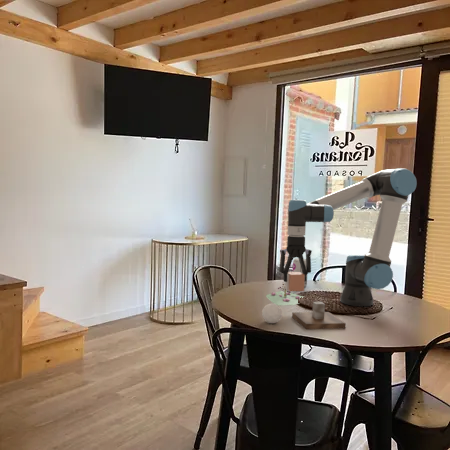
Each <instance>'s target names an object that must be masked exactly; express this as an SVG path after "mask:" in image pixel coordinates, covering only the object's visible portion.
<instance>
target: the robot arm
mask: <svg viewBox="0 0 450 450" xmlns="http://www.w3.org/2000/svg"><path fill="white" fill-rule="evenodd" d="M417 184H418V183H417V178H416V176H415V174H414V173H413V172H412V170H409V169H407V168H401V167H399V168H398V167H397V168H391V169H382V170H380V171H377V172H375V173H373V174H371V175H369V176H366V177H364V178H362V179H361V181H359V182H357V183H355V184H352V185H350V186H347V187H345V188H342V189H340V190H337V191H335V192H332V193H330V194H327V195H324V196H322V197H320V198H317V199H314V200H311V201H310V202H307V200H306V199H291V200H289V202H288V209H287V212H288V213H287V235H288V236H287V238H286V240H287V242H286V243H287V244H286V248H284V249H280V250H279V252H280V262H279V268H278V269H279V273H280V274H283V278H282V279H283V283H284V286H285V289H287V291H289V274H288V272H290V268H291V265H292V263H293V261H294V259H295V258H298V259H299V261H300V265H301V269H302V272H303V274H304V275H305V276H304V281H306V280H307V281H308V274H311V273H312V263H311V262H312V260H311V256H312V251H313V250H311V249H307V248H306V237H305V236H306V227H307V225H306V223H330V222H332V220H333V218H334V216H335V215H334V214H335V213H334V211H335V210H338V209H341V208H342V207H344V206H347V205H350V204H352V203H354V202H357V201H359V200H363V199H366V198H373V197H376V196H379V197H380V199H381V204H380V209H379V212H378V216H377V220H376V223H375V228H374V232H373V235H372V240H371V244H370V247H369V250H368V252H367V253H365V254H364V255H359V254H358V255H352V254H351V255H349V254H348V256H347V257H346V260H345V276H344V277H345V278H344V279H345V280H344V287H343V289H342V291H341V295H340V298H339V299H340V303H342V304H343V305H347V306H352V307H363V306H364V307H372V306H373V305H374V297H373V294H372V291H371V289H376V290H382V289H384V288H387V287H388V286H389V285H390V284H391V283H392V281H393V278H394V272H393V270H392V268H391V265H392V259H391V258H390V254H391V250H392V246H393V242H394V238H395V234H396V231H397V226H398V223H399V220H400V215H401V213H402V212H401V211H402V207H403V205H404V204H405V203H407V202H408V198H409V196H410V195H411V194H412V193H414V192H415V190H416V188H417ZM286 254H288V256H287V260H286ZM304 254H305V259H306V267H305V263H304V260H303V259H304V256H303V255H304ZM285 262H286V263H285ZM285 289H284V290H285ZM371 305H372V306H371Z"/></svg>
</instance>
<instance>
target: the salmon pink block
mask: <svg viewBox="0 0 450 450" xmlns="http://www.w3.org/2000/svg"><path fill="white" fill-rule="evenodd" d="M288 274H289V290H288V291H290V292H304V291H305V287H304V276H305V275H304V274H303V273H301V272H293V271H288Z"/></svg>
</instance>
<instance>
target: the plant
mask: <svg viewBox="0 0 450 450" xmlns="http://www.w3.org/2000/svg"><path fill="white" fill-rule="evenodd" d="M277 289H278V290H279V291H276V292H270V293H268V294H266V296H265V297H266V298H267V299H268V300H269V301H270V302H271V303H272V304H274V303H275V304H276V305H278V306H296V305H299V303H298V299H300V298H301V297H302V298H303V297H304V296H303V295H299V294H297V293H296V294H295V293H293V292H292V291H289V290H287V289H285V283H284V281H283V282H282V287H281V286H279V287H278V288H277ZM281 290H282V291H281Z"/></svg>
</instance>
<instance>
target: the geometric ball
mask: <svg viewBox="0 0 450 450" xmlns="http://www.w3.org/2000/svg"><path fill="white" fill-rule="evenodd" d="M282 313H283V311H282V309H281V308H280V305H276V304H275V303H268V304H266V305H264V307H263V308H262V310H261V317H262V318H263V320H264V321H265V322H267V323H268V324H276V323H278V322H279V321H280V320H281V319H282V316H283V315H282Z"/></svg>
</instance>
